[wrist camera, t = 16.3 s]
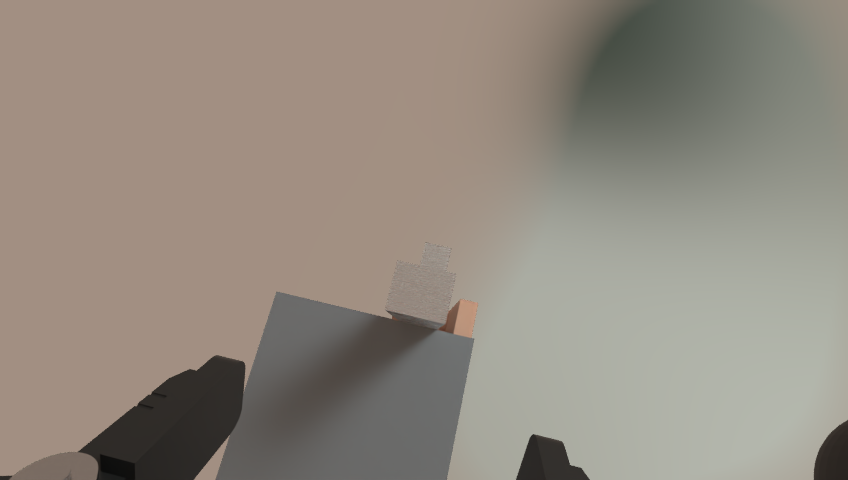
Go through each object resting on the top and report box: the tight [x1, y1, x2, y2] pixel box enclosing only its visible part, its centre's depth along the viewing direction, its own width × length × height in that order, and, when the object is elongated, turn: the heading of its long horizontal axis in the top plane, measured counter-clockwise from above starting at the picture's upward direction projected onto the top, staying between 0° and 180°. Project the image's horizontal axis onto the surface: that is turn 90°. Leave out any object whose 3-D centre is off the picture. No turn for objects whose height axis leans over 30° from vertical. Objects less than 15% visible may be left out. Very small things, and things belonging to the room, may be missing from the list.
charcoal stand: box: [216, 292, 478, 480], centre depth 36 cm, size 16×18×35 cm
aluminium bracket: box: [385, 242, 456, 330], centre depth 33 cm, size 3×26×10 cm, turn 0°
